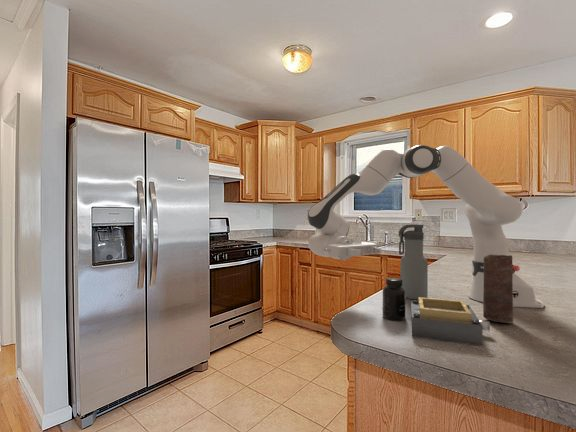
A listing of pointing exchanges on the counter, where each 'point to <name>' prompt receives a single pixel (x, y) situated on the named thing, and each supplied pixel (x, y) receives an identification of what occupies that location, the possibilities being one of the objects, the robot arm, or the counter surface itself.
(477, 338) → the grey and tan box
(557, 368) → the counter surface
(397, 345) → the counter surface
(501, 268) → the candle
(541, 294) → the counter surface
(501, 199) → the robot arm
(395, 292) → the supplement bottle
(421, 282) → the water bottle
